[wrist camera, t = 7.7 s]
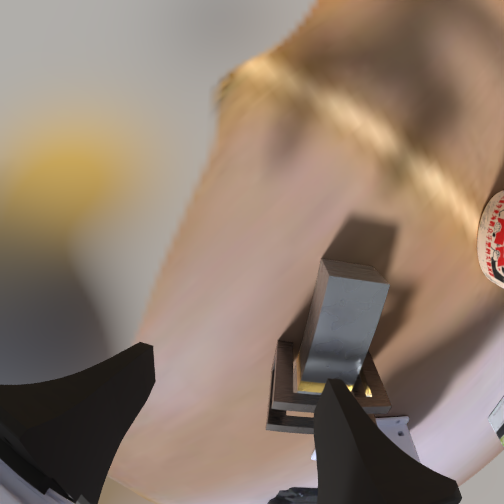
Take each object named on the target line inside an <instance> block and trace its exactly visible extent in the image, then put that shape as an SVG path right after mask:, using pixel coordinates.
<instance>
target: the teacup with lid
mask: <svg viewBox="0 0 504 504" xmlns="http://www.w3.org/2000/svg"><path fill="white" fill-rule="evenodd" d="M477 252H478V259H479V263H480V266H481V269H482V271H483V273H484V275H485V276H486V277H487V278H488V279H489V280H490V281H492V282H493V283H495V284H497V285H498V286H500V287H502V288H503V289H504V190H503V191H500V192H498V193H497V194H495V195H494V196H493V197H492V198H491V200H490V201H489V202H488V204H487V206H486V208H485V210H484V212H483V214H482V217H481V221H480V225H479V229H478V237H477Z"/></svg>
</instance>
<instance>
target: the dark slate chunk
mask: <svg viewBox="0 0 504 504" xmlns="http://www.w3.org/2000/svg"><path fill="white" fill-rule="evenodd" d="M317 497H318V489H315V488H312V489H311V488H290V489H289V490H286V491H279V493H278V494H277V496H276V498H274V499H271V500H270V501H269V502H268V504H317Z"/></svg>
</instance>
